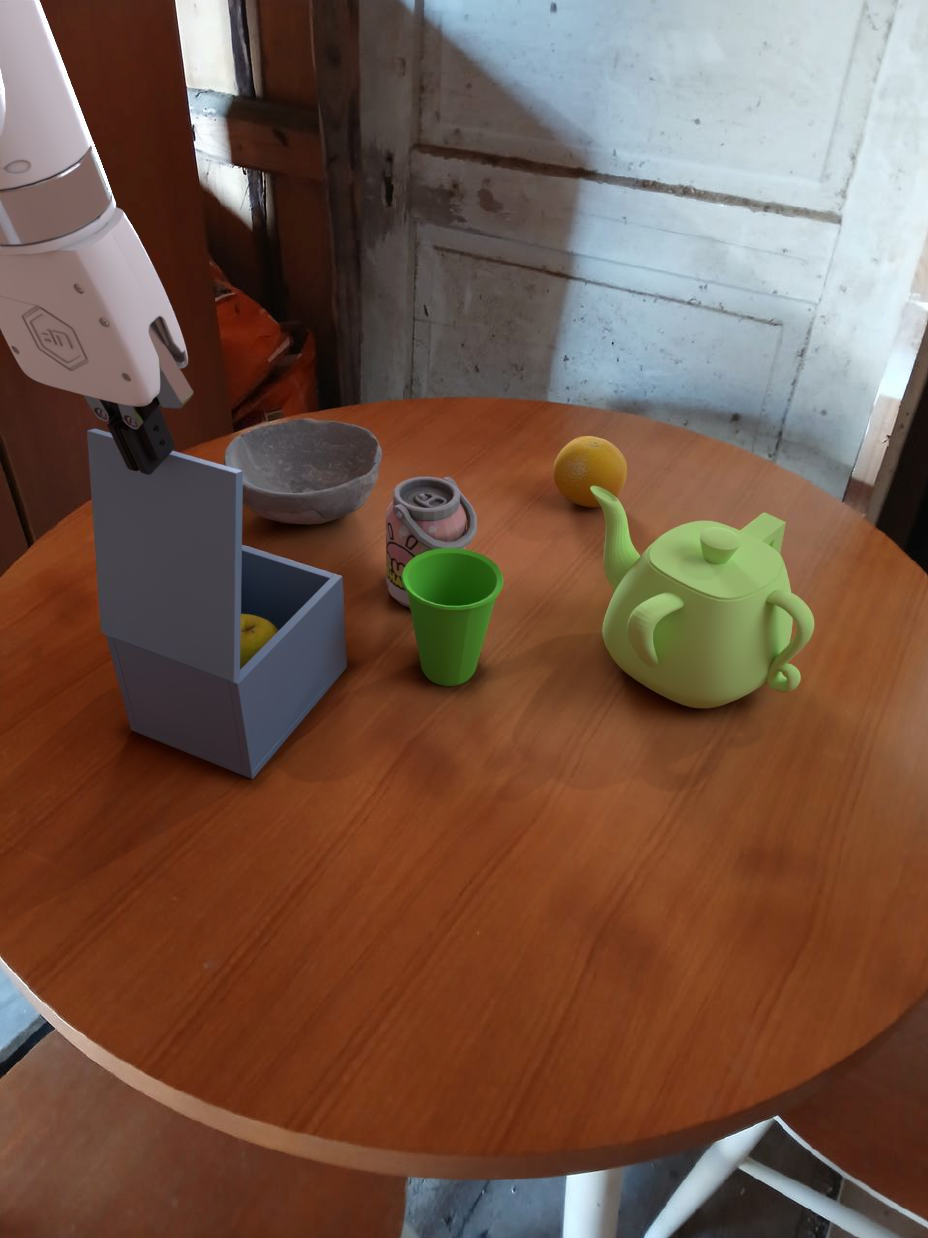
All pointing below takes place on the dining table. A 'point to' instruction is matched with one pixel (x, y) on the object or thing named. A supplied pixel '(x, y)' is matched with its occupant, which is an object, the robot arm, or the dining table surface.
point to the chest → (244, 671)
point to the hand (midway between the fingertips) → (152, 458)
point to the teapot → (702, 609)
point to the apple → (254, 636)
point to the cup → (451, 610)
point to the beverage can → (424, 525)
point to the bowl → (306, 469)
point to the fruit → (589, 469)
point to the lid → (169, 555)
